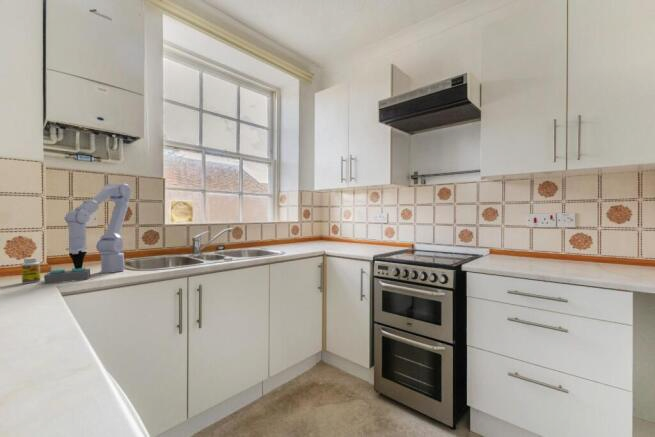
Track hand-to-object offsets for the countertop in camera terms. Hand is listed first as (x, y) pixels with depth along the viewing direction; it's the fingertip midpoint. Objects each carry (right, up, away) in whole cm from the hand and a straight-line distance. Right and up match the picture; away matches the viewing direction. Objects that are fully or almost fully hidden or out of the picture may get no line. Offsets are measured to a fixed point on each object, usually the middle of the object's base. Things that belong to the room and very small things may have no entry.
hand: (78, 268), depth 133 cm
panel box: (-3, -5, -2) cm, 6 cm away
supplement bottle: (-15, -5, -6) cm, 17 cm away
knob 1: (-6, -4, -4) cm, 8 cm away
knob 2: (0, -4, 0) cm, 4 cm away
